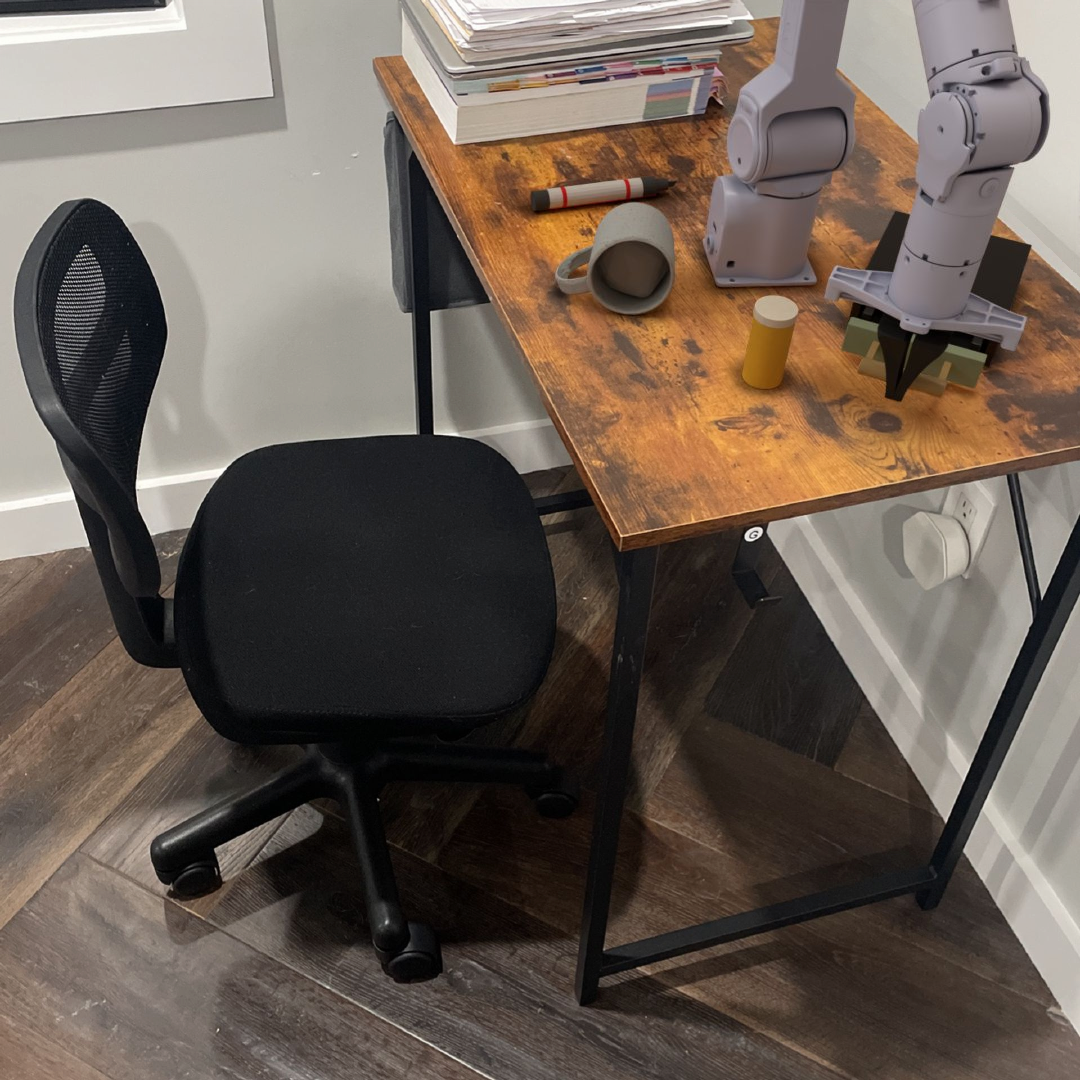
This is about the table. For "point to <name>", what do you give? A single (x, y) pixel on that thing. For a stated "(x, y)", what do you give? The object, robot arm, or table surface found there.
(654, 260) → the ceramic mug
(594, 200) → the marker
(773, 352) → the pill bottle
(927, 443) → the table surface
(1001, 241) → the cabinet
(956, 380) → the drawer
